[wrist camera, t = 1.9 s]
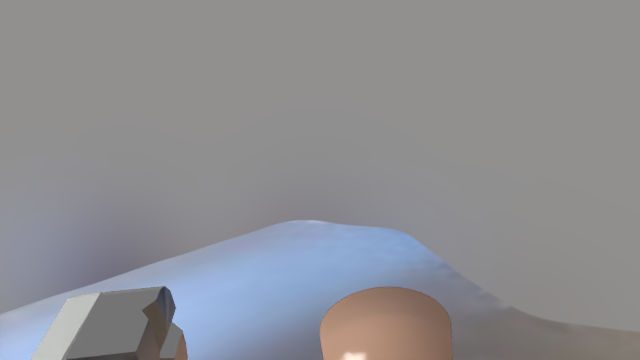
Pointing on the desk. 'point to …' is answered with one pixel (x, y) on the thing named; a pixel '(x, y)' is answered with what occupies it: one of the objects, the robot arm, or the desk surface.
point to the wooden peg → (386, 327)
